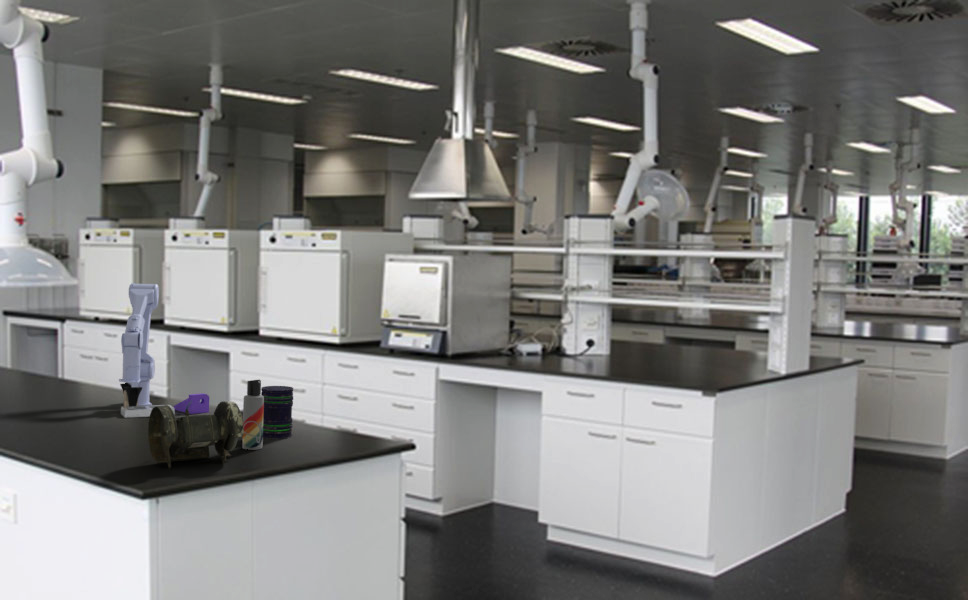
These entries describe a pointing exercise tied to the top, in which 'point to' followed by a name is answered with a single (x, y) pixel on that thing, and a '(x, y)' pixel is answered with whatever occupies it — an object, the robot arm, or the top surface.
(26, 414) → the top surface
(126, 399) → the peg
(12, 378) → the top surface
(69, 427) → the top surface
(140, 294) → the robot arm
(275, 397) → the storage jar
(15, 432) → the top surface
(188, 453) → the bench grinder
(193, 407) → the bracket
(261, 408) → the lotion bottle
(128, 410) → the grey rectangular frame
